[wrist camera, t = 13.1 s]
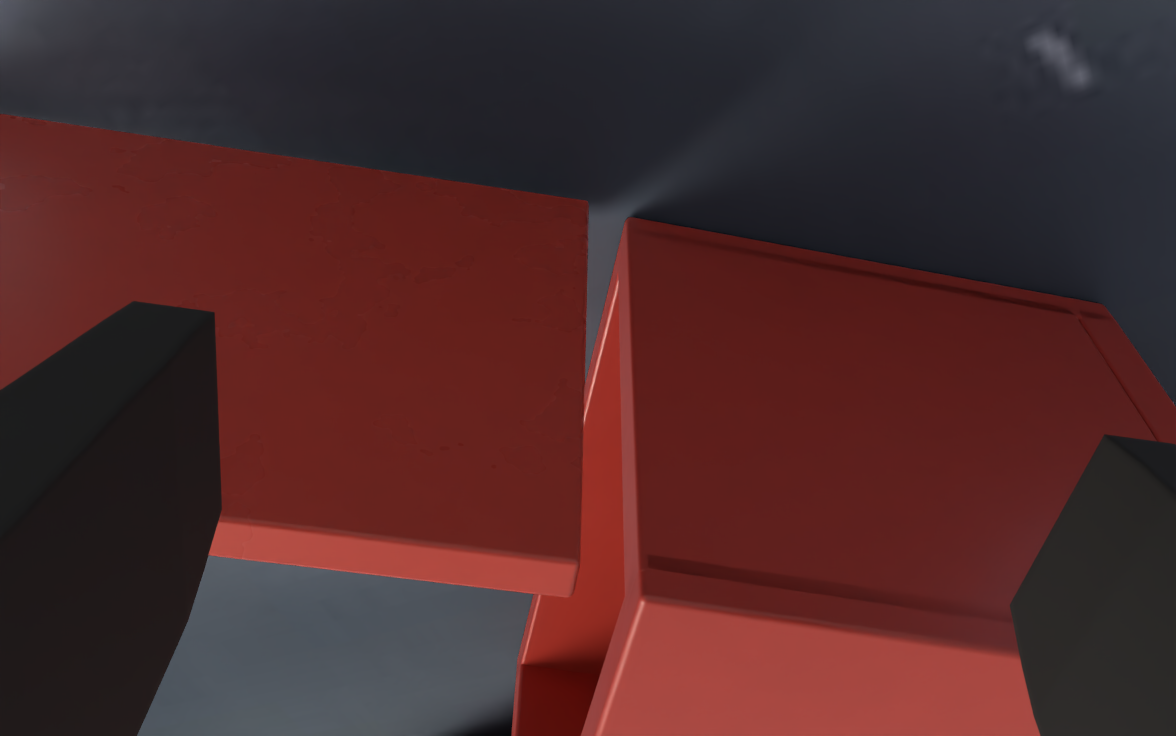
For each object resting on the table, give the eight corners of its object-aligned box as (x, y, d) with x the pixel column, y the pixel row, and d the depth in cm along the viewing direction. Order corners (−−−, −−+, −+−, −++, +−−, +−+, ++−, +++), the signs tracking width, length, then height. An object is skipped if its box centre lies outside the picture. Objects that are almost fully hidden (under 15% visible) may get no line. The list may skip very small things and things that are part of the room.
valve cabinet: (626, 213, 19) (640, 598, 12) (1105, 302, 20) (1390, 709, 13) (517, 659, 26) (483, 1077, 19) (879, 710, 27) (981, 1128, 20)
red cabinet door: (643, -110, 16) (675, 129, 9) (583, 229, 19) (572, 601, 12) (-209, -256, 15) (-921, -118, 8) (-122, 126, 18) (-576, 464, 11)
